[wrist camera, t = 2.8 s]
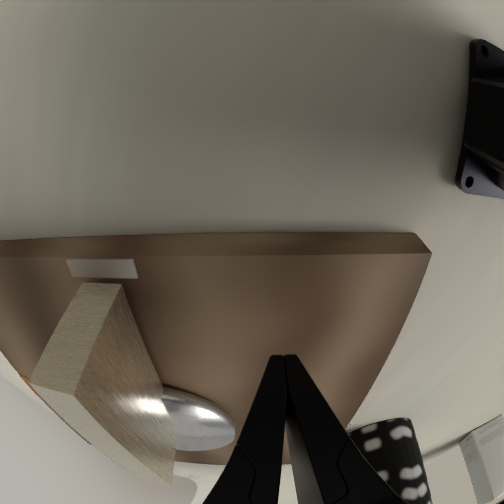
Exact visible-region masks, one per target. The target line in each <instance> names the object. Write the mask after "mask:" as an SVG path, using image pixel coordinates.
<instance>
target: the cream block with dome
mask: <svg viewBox="0 0 504 504" xmlns="http://www.w3.org/2000/svg"><path fill="white" fill-rule="evenodd" d="M29 384H30V385H31V386H32V387H33V388H34V389H35V391H36V392H37V393H38V394H39V395H40V396H41V397H42V398H43V399H44V400H45V401H46V402H47V403H48V404H49V405H50V406H51V407H52V408H53V409H54V410H55V411H56V412H57V413H58V414H59V415H60V416H61V417H62V418H63V419H64V420H65V421H66V422H67V423H68V424H69V425H70V426H71V427H72V428H74V429H75V430H76V431H77V432H78V433H79V434H80V435H81V436H83V437H84V438H85V439H86V440H87V441H88V442H90V443H91V444H92V445H93V446H95V447H96V448H97V449H98V450H100V451H101V452H102V453H103V454H105V455H106V456H107V457H109V458H110V459H111V460H113V461H114V462H115V463H117V464H118V465H120V466H121V467H122V468H124V469H125V470H126V471H128V472H129V473H131V474H132V475H134V476H135V477H137V478H138V479H140V480H141V481H144V482H149V483H155V484H161V485H167V486H171V484H172V475H173V467H174V459H175V451H176V450H185V451H204V450H212V449H217V448H221V447H224V446H226V445H228V444H230V443H231V442H232V441H233V440H234V438H235V420H234V418H233V417H232V416H231V415H230V414H229V413H228V412H227V411H226V410H224V409H223V408H222V407H220V406H218V405H216V404H214V403H212V402H210V401H208V400H206V399H203V398H201V397H198V396H195V395H192V394H189V393H186V392H182V391H179V390H175V389H170V388H166V387H163V386H162V384H161V381H160V379H159V377H158V375H157V373H156V370H155V368H154V366H153V364H152V361H151V359H150V357H149V354H148V352H147V350H146V347H145V345H144V342H143V340H142V337H141V335H140V332H139V330H138V327H137V325H136V322H135V319H134V317H133V314H132V311H131V308H130V306H129V303H128V300H127V297H126V294H125V291H124V288H123V285H122V284H110V283H82V285H81V286H80V288H79V289H78V291H77V293H76V294H75V296H74V297H73V299H72V301H71V302H70V304H69V306H68V308H67V309H66V311H65V313H64V314H63V316H62V318H61V320H60V321H59V323H58V325H57V327H56V329H55V330H54V332H53V334H52V336H51V338H50V340H49V342H48V344H47V345H46V347H45V349H44V351H43V353H42V355H41V357H40V359H39V361H38V363H37V365H36V367H35V370H34V372H33V374H32V376H31V378H30V380H29Z"/></svg>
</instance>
